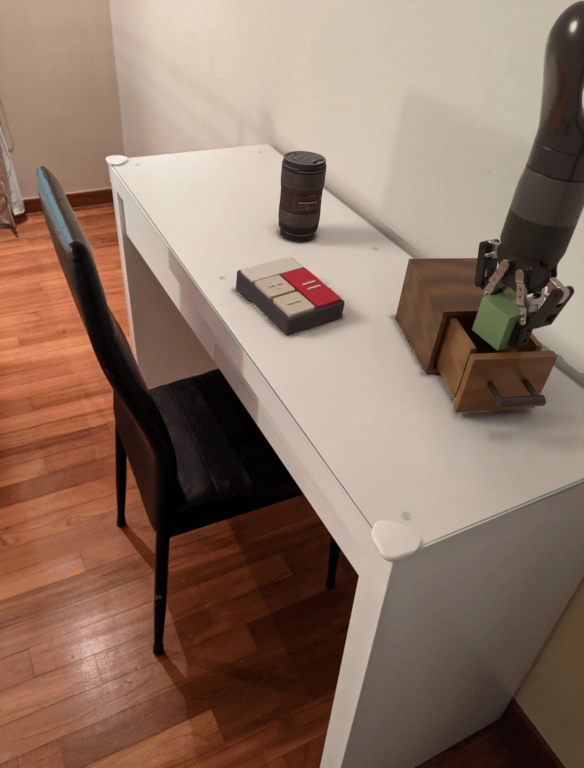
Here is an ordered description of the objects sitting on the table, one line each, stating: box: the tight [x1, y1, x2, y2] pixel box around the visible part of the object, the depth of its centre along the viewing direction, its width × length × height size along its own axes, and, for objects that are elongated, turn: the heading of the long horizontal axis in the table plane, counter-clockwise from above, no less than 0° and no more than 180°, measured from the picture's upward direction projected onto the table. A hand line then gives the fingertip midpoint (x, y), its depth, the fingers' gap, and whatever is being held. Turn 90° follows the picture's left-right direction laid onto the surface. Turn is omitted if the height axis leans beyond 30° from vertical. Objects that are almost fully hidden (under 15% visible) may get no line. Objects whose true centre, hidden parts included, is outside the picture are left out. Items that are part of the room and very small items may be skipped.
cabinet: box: [395, 257, 515, 375], centre depth 91 cm, size 15×13×11 cm
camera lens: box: [277, 150, 327, 243], centre depth 114 cm, size 8×8×15 cm
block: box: [472, 291, 530, 351], centre depth 78 cm, size 5×5×5 cm
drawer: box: [434, 316, 559, 414], centre depth 82 cm, size 18×11×9 cm, turn 10°
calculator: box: [235, 256, 346, 336], centre depth 98 cm, size 11×4×15 cm
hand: (499, 333), depth 79 cm, fingers closed on block, 5 cm apart
